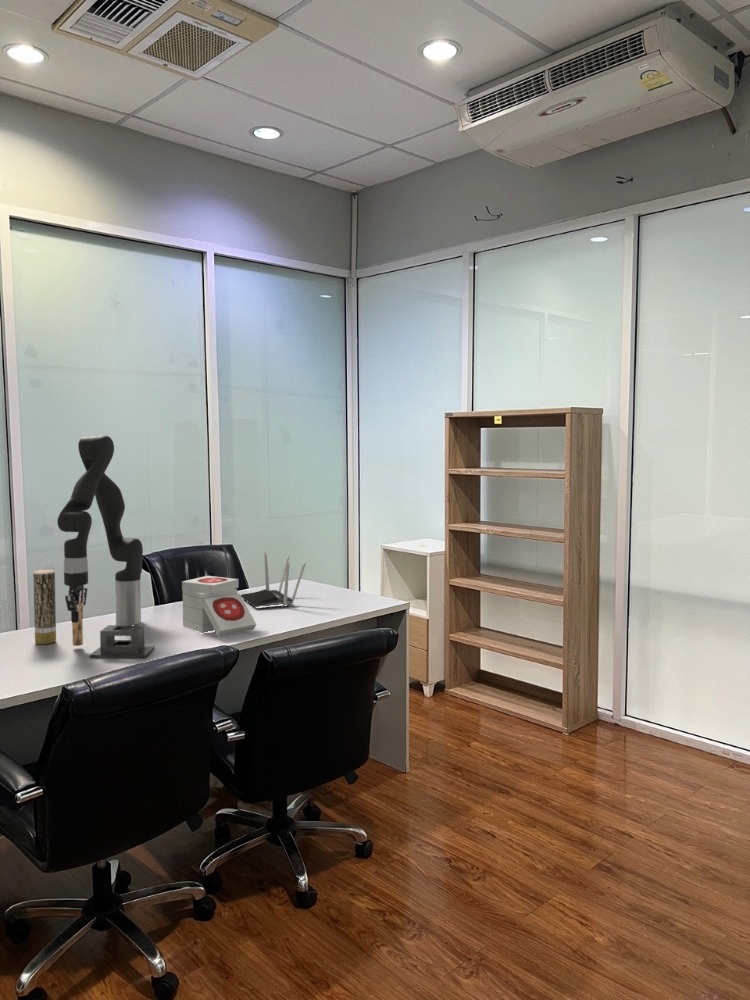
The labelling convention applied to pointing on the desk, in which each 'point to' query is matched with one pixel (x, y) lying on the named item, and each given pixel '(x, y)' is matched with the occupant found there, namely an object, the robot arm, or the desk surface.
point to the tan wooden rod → (78, 629)
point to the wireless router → (273, 596)
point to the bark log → (44, 606)
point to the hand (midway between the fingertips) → (77, 620)
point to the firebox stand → (122, 643)
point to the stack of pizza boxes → (215, 606)
